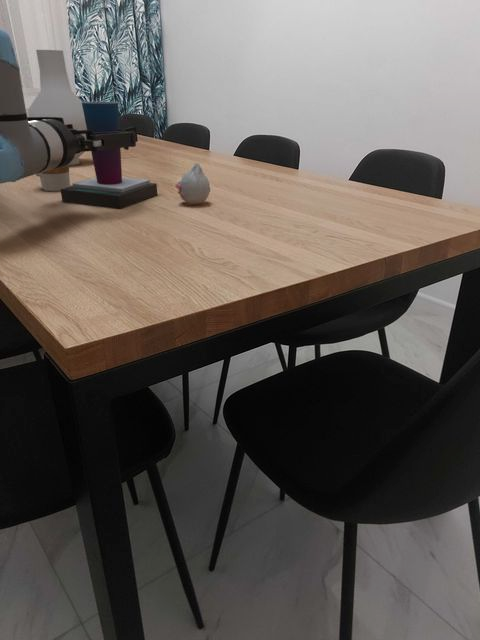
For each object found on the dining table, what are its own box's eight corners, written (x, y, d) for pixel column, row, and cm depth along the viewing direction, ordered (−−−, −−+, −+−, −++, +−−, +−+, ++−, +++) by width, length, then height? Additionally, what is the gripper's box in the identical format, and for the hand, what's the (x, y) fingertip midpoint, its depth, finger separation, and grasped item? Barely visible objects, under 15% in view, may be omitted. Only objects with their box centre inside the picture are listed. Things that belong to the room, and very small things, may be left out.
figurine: (174, 201, 105) (171, 161, 101) (206, 199, 107) (205, 159, 103) (179, 208, 100) (177, 166, 96) (214, 206, 102) (212, 165, 98)
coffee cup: (33, 192, 110) (18, 117, 103) (41, 184, 117) (28, 114, 110) (72, 192, 111) (61, 117, 104) (79, 184, 118) (68, 114, 111)
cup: (92, 179, 107) (81, 101, 99) (125, 178, 109) (116, 101, 101) (93, 186, 101) (81, 103, 94) (127, 184, 103) (119, 103, 96)
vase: (35, 160, 148) (14, 50, 134) (93, 158, 154) (78, 52, 140) (39, 169, 135) (16, 48, 121) (102, 166, 141) (86, 50, 127)
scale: (62, 201, 103) (59, 185, 101) (104, 189, 114) (102, 174, 113) (119, 208, 99) (117, 191, 97) (157, 195, 110) (156, 179, 108)
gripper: (-19, 166, 86) (49, 150, 104) (118, 173, 82) (163, 155, 100) (-31, 117, 82) (42, 110, 101) (112, 123, 78) (160, 114, 97)
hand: (103, 132), depth 100 cm, fingers open, 13 cm apart
